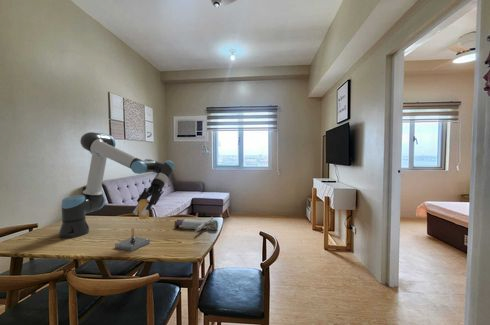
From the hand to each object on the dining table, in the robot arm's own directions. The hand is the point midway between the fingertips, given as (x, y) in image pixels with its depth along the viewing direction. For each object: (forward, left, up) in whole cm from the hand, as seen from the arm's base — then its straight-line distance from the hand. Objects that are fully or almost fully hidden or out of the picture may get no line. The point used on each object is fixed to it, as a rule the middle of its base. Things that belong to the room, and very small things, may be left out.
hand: (138, 214), depth 126 cm
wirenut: (0, +4, -3) cm, 5 cm away
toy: (+16, +32, -17) cm, 40 cm away
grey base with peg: (0, -5, -16) cm, 17 cm away
